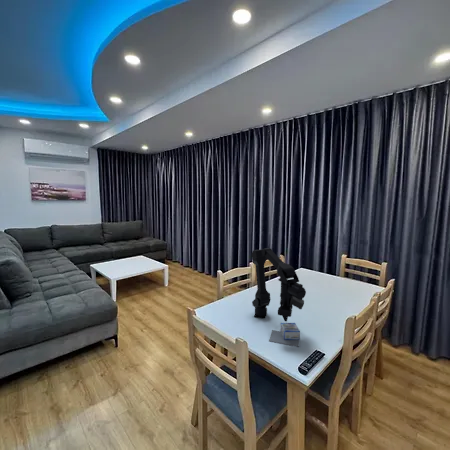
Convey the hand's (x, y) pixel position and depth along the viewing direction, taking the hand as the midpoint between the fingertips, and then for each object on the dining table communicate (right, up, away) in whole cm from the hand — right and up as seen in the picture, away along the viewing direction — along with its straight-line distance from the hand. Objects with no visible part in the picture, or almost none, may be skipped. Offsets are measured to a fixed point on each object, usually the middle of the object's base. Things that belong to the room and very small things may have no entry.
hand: (285, 321), depth 122 cm
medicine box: (+2, -5, +4) cm, 7 cm away
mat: (-1, -8, -2) cm, 8 cm away
